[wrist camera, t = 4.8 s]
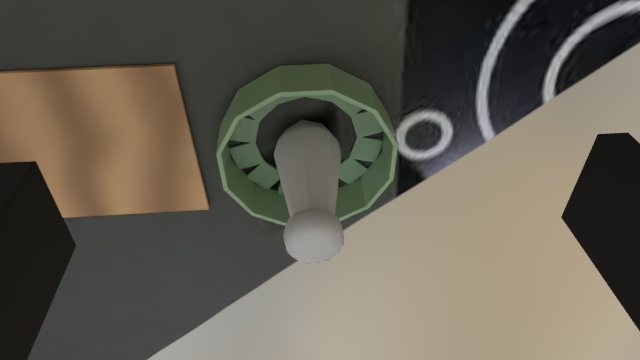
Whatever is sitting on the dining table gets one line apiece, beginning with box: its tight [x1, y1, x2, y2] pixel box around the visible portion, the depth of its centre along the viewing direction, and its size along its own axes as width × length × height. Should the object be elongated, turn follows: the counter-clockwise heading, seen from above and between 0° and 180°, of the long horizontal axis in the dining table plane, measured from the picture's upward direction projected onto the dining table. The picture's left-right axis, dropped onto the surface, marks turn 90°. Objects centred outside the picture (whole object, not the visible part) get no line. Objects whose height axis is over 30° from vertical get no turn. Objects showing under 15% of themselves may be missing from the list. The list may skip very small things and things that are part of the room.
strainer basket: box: [216, 64, 398, 226], centre depth 41 cm, size 15×15×4 cm
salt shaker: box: [274, 120, 344, 263], centre depth 38 cm, size 6×6×13 cm
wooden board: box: [0, 64, 209, 218], centre depth 42 cm, size 20×16×1 cm
